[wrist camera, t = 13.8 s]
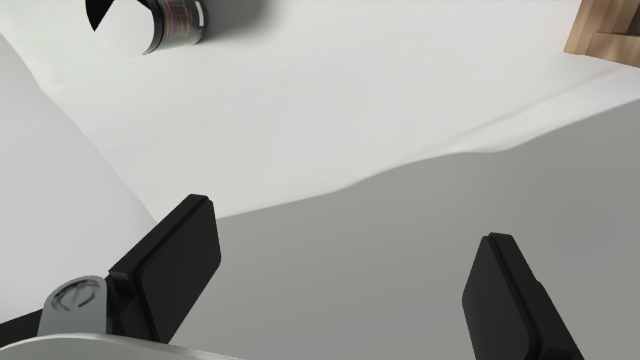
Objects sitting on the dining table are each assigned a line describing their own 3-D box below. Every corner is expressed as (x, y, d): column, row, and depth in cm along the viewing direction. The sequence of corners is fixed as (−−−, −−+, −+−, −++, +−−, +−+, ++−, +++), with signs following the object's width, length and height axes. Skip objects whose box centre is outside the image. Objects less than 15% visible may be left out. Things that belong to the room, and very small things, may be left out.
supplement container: (147, -12, 37) (71, -18, 28) (198, -25, 36) (134, -36, 27) (169, 49, 40) (106, 61, 31) (217, 40, 39) (165, 50, 30)
